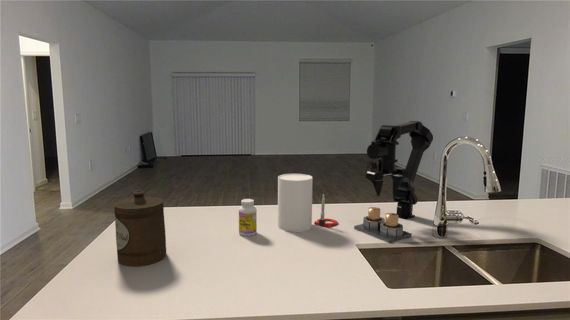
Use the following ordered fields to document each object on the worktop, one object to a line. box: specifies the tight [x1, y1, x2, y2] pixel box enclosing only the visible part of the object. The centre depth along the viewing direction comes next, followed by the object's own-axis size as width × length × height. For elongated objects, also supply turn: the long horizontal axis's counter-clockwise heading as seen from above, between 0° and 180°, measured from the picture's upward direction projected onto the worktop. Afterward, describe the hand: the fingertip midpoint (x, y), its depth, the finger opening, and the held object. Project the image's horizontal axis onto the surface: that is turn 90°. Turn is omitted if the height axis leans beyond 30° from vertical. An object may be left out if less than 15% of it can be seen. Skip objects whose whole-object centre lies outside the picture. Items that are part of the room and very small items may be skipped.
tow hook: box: [313, 193, 338, 228], centre depth 163 cm, size 8×13×9 cm
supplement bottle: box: [238, 198, 258, 237], centre depth 150 cm, size 7×7×13 cm
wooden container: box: [113, 189, 167, 267], centre depth 127 cm, size 15×15×22 cm
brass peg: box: [367, 206, 381, 221], centre depth 156 cm, size 4×4×7 cm
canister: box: [277, 173, 314, 233], centre depth 159 cm, size 14×14×20 cm
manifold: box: [353, 212, 413, 244], centre depth 153 cm, size 18×12×8 cm, turn 33°
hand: (386, 194), depth 163 cm, fingers open, 9 cm apart
